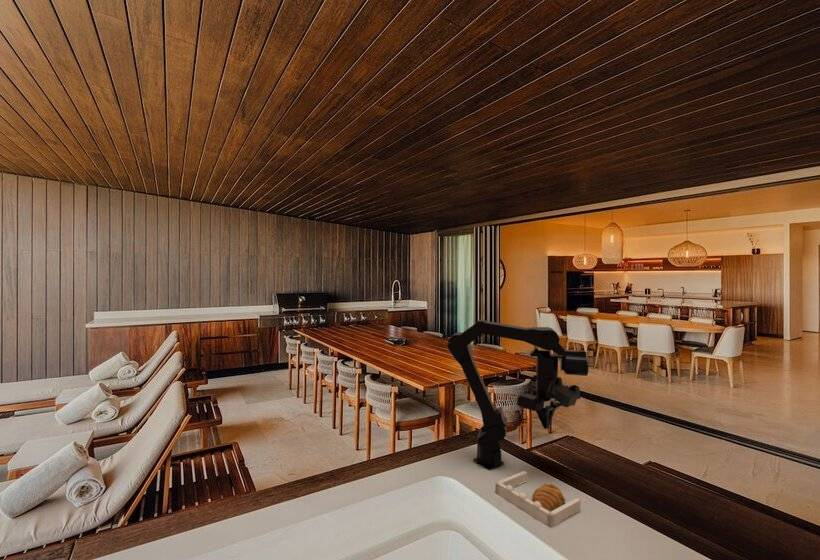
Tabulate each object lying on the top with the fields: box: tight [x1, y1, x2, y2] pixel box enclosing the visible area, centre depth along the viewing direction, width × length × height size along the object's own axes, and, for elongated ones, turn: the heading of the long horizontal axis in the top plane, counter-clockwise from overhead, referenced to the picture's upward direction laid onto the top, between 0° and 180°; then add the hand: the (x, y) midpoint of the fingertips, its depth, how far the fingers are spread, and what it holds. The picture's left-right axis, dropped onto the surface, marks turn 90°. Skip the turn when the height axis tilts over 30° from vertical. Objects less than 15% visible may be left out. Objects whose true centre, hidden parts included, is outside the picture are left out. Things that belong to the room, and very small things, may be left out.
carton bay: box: [494, 470, 581, 528], centre depth 91 cm, size 16×11×3 cm
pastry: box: [531, 483, 566, 512], centre depth 90 cm, size 9×7×4 cm
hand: (545, 428), depth 106 cm, fingers closed
